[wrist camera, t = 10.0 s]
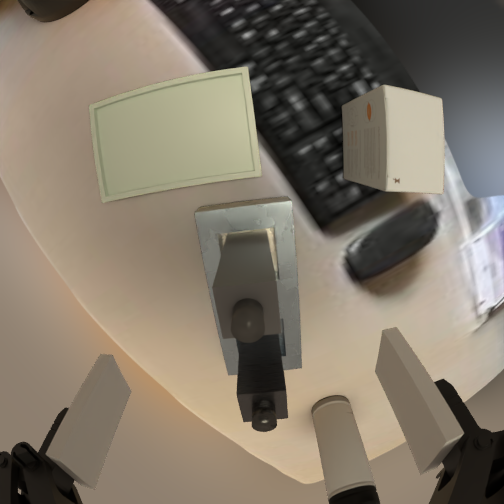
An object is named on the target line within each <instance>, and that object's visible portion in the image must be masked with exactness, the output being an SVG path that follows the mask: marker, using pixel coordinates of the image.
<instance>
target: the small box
mask: <svg viewBox="0 0 504 504" xmlns="http://www.w3.org/2000/svg"><path fill="white" fill-rule="evenodd" d="M443 121H444V120H443V106H442V99H441V98H438V97H435V96H431V95H427V94H424V93H420V92H416V91H412V90H407V89H403V88H398V87H393V86H388V85H382V86H380V87H378V88H376V89H374V90H372V91H370V92H368V93H366V94H364V95H362V96H360V97H358V98H356V99H354V100H352V101H350V102H348V103H346V104H344V105H343V106H342V122H343V158H344V175H343V178H344V179H345V180H349V181H353V182H356V183H360V184H363V185H367V186H370V187H373V188H376V189H379V190H383V191H390V192H413V193H429V194H443V190H444V122H443Z"/></svg>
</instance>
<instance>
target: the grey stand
mask: <svg viewBox="0 0 504 504" xmlns="http://www.w3.org/2000/svg"><path fill="white" fill-rule="evenodd" d="M195 219H196V225H197V230H198V236H199V241H200V247H201V252H202V257H203V263H204V268H205V273H206V278H207V283H208V288H209V293H210V297H211V302H212V307H213V312H214V316H215V321H216V325H217V330H218V334H219V338H220V343H221V347H222V351H223V356H224V360H225V364H226V368H227V372H228V375H238V378H237V398H238V402H239V406H240V410H241V414H242V418H243V422H251V421H252V428H253V429H255V430H257V431H261V432H267V431H271V430H273V429H275V428H276V426H277V420H276V419H284V418H288V410H287V396H286V386H285V378H284V371H283V370H290V369H298V368H302V359H301V331H300V309H299V290H298V274H297V259H296V246H295V233H294V221H293V210H292V201H291V199H290V198H289V197H288V196H284V197H275V198H266V199H257V200H249V201H241V202H233V203H225V204H218V205H211V206H203V207H200V208H199V209H198V210H197V211H196V212H195ZM260 230H267V234H268V239H269V244H270V250H271V255H272V260H273V265H274V270H275V276H276V281H277V292H278V302H279V313H280V325H281V333H279V334H270V335H263V336H262V337H261V338H260V339H259V340H257V341H255V342H251V343H245V342H241V341H239V340H237V339H236V338H229V339H223V337H222V332H221V328H220V323H219V319H218V314H217V309H216V304H215V300H214V295H213V290H212V286H213V283H214V279H215V275H216V272H217V268H218V265H219V261H220V258H221V254H222V251H223V247H224V244H225V240H226V237H227V234H235V233H243V232H251V231H260Z"/></svg>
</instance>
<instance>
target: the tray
mask: <svg viewBox="0 0 504 504" xmlns="http://www.w3.org/2000/svg"><path fill="white" fill-rule="evenodd" d="M89 114H90V125H91V135H92V144H93V152H94V159H95V166H96V172H97V178H98V184H99V190H100V195H101V200H102V203H105V202H110V201H114V200H119V199H124V198H128V197H133V196H138V195H143V194H148V193H154V192H159V191H164V190H170V189H176V188H182V187H188V186H194V185H200V184H207V183H213V182H220V181H228V180H235V179H243V178H251V177H259V176H262V173H261V165H260V157H259V149H258V141H257V133H256V125H255V117H254V110H253V102H252V95H251V87H250V80H249V73H248V67H240V68H232V69H225V70H219V71H212V72H207V73H201V74H196V75H191V76H186V77H181V78H177V79H172V80H168V81H164V82H160V83H156V84H152V85H149V86H145V87H142V88H138V89H135V90H132V91H128V92H125V93H122V94H119V95H116V96H113V97H110V98H107V99H104V100H102V101H99V102H96V103H94V104H91V105H89Z"/></svg>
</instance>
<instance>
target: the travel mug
mask: <svg viewBox="0 0 504 504" xmlns="http://www.w3.org/2000/svg"><path fill="white" fill-rule="evenodd" d="M312 417H313V422H314V427H315V432H316V437H317V442H318V447H319V453H320V458H321V463H322V469H323V474H324V480H325V485H326V491H327V496H328V501H329V504H380V501H379V497H378V494H377V492H376V485H375V483H374V479H373V475H372V472H371V468H370V465H369V461H368V458H367V455H366V452H365V449H364V445H363V442H362V439H361V436H360V433H359V430H358V427H357V424H356V421H355V418H354V415H353V412H352V409H351V406H350V403H349V400H348V399H347V398H345V397H342V396H332V397H328V398H325V399H323V400H321V401H319V402H318V403H316V404H315V406H314V407H313V409H312Z"/></svg>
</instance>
